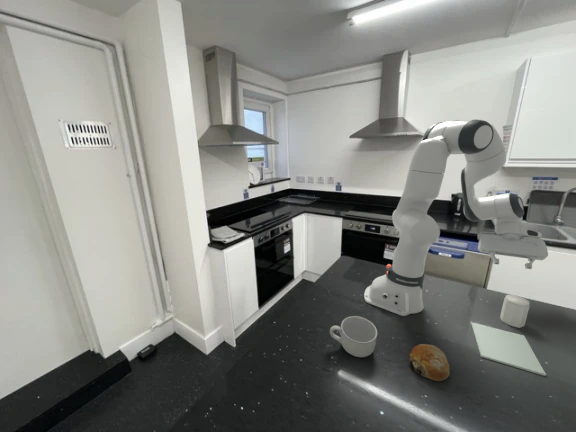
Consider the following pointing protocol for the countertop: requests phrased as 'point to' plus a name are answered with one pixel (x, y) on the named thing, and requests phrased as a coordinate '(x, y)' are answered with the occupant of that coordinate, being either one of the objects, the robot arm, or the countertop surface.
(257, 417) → the countertop surface
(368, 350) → the teacup
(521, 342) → the mat
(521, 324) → the domed hexagonal post
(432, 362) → the bread roll
